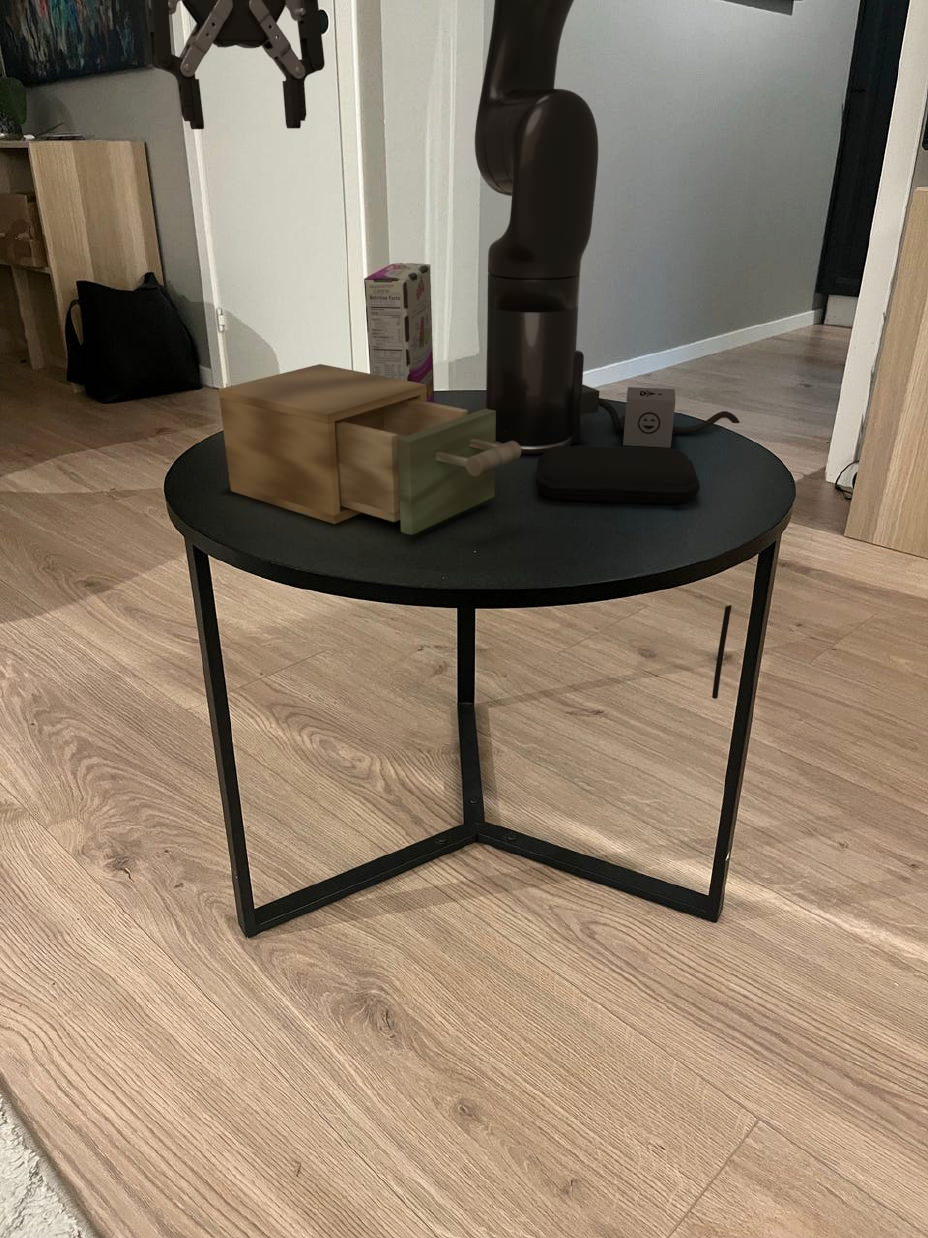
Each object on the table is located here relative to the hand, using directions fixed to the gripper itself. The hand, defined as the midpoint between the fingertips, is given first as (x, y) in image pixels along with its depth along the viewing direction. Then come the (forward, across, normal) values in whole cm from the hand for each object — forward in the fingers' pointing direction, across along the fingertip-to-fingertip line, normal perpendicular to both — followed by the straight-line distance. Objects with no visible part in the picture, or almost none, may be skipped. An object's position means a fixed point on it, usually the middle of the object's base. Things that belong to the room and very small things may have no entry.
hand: (246, 128), depth 83 cm
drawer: (+29, -7, +20) cm, 36 cm away
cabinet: (+30, -2, +10) cm, 32 cm away
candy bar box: (+30, -18, -9) cm, 36 cm away
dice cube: (+30, -38, +11) cm, 50 cm away
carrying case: (+30, -26, +22) cm, 46 cm away
